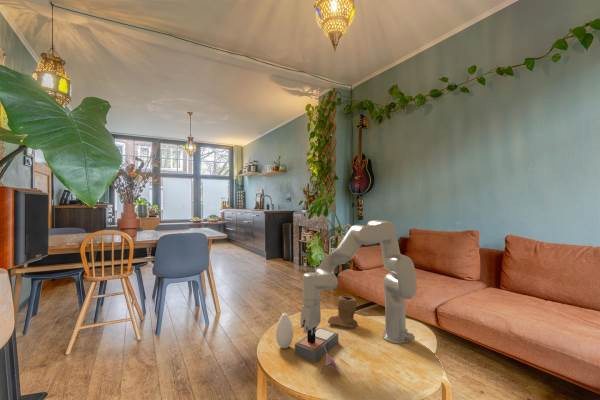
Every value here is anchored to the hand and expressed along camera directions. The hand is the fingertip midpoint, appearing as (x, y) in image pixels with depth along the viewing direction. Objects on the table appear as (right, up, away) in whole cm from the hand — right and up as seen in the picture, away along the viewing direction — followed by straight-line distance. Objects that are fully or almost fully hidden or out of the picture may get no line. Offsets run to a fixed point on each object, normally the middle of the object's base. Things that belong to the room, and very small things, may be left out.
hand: (311, 342), depth 123 cm
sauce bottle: (-12, -5, +5) cm, 14 cm away
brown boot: (+19, -5, +29) cm, 35 cm away
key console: (+3, -5, +4) cm, 7 cm away
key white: (+6, -3, +8) cm, 10 cm away
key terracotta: (0, -3, 0) cm, 3 cm away
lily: (+7, -5, -14) cm, 16 cm away
